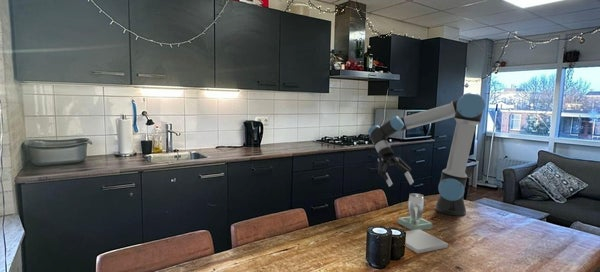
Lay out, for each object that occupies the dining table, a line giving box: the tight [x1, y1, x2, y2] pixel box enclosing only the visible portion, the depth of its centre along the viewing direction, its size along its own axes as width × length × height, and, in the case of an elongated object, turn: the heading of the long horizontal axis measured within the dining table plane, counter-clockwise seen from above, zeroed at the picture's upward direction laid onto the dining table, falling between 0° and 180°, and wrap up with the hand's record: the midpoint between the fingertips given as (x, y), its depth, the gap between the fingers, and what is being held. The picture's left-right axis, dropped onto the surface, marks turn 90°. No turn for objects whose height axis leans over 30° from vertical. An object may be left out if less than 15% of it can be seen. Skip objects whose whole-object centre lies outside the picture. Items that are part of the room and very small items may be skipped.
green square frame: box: [397, 216, 433, 231], centre depth 152 cm, size 11×11×2 cm
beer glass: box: [408, 192, 425, 225], centre depth 152 cm, size 7×7×15 cm
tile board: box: [405, 229, 449, 254], centre depth 134 cm, size 16×16×2 cm
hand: (401, 184), depth 160 cm, fingers open, 13 cm apart
